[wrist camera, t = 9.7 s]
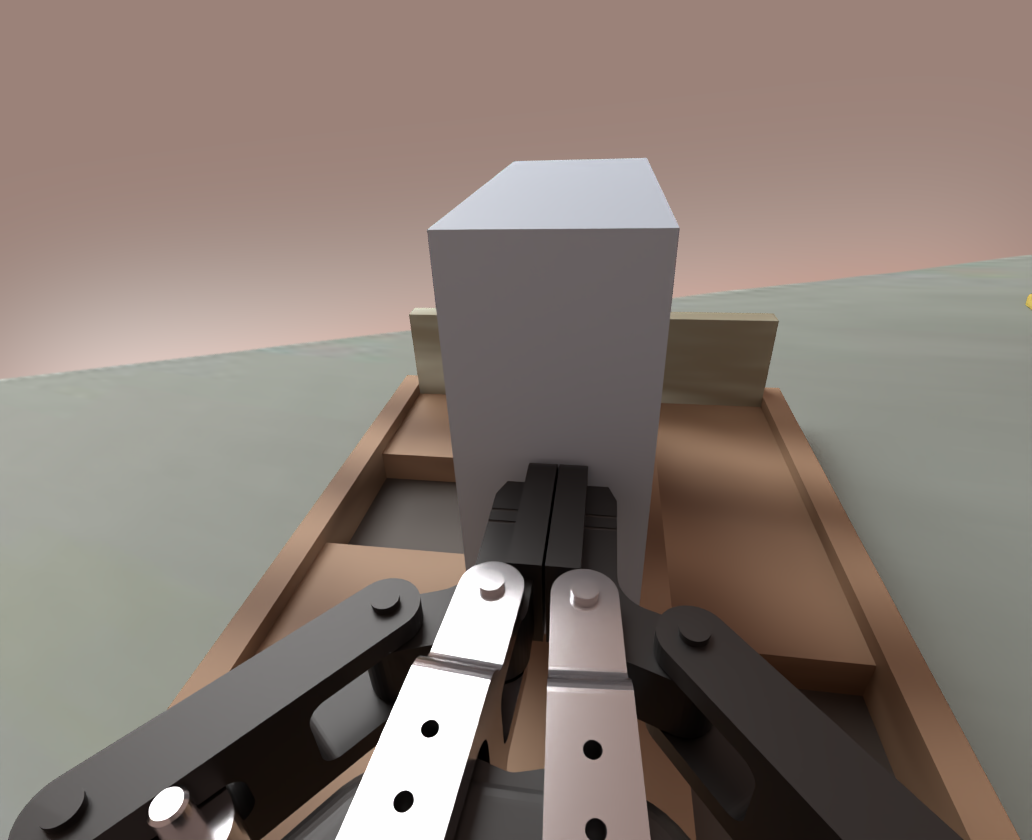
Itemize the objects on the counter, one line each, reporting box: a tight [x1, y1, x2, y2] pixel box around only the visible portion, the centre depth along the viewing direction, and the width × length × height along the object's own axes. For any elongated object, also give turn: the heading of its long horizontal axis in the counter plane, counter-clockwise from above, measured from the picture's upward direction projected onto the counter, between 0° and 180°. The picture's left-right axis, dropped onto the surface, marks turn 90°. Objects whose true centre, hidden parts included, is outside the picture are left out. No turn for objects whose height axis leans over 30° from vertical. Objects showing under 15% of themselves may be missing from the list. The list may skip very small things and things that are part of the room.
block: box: [427, 158, 679, 634], centre depth 19 cm, size 12×5×12 cm, turn 172°
